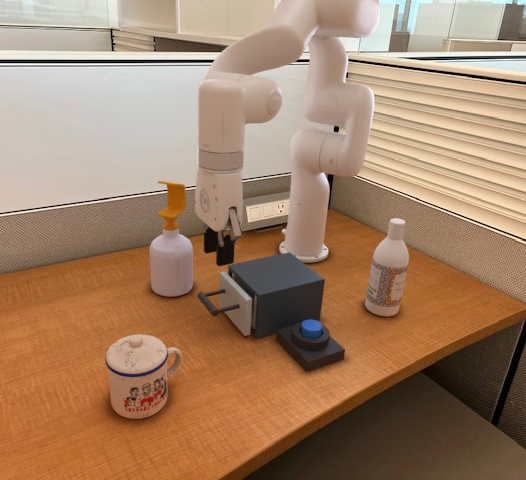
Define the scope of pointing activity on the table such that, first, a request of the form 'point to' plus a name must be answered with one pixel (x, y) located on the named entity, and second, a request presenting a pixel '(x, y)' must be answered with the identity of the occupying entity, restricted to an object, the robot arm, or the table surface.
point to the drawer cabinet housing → (280, 291)
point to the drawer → (233, 302)
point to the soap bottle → (172, 249)
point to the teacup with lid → (139, 375)
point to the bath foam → (388, 272)
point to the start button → (311, 329)
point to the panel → (310, 347)
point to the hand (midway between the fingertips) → (218, 256)
